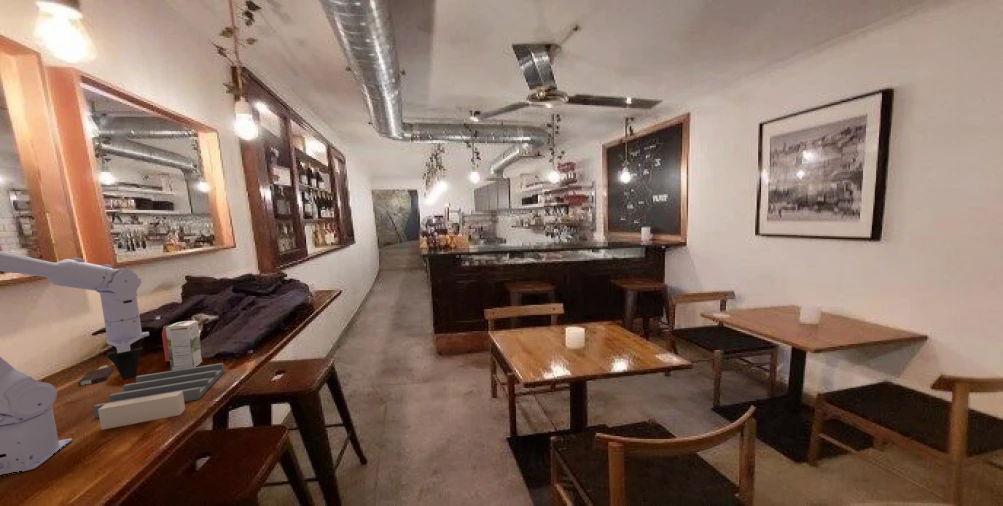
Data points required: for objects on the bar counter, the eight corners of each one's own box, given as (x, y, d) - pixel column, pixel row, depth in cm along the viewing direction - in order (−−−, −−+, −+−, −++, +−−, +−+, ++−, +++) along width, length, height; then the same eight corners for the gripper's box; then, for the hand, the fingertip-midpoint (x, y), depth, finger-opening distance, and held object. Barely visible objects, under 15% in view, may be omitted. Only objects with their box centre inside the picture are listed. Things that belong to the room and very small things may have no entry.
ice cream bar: (92, 371, 112) (78, 388, 100) (91, 366, 111) (77, 382, 100) (116, 366, 115) (106, 382, 103) (116, 361, 115) (105, 376, 103)
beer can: (187, 361, 116) (182, 326, 114) (161, 365, 113) (156, 329, 112) (196, 354, 122) (191, 320, 121) (171, 357, 119) (166, 323, 118)
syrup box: (181, 366, 112) (175, 322, 111) (203, 363, 114) (197, 319, 112) (171, 373, 107) (164, 327, 105) (194, 370, 109) (188, 324, 107)
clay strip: (185, 410, 86) (182, 390, 85) (180, 415, 84) (177, 395, 83) (109, 424, 81) (105, 404, 80) (101, 430, 79) (97, 409, 78)
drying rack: (198, 399, 91) (197, 389, 90) (94, 417, 83) (92, 407, 83) (224, 371, 107) (223, 362, 107) (139, 384, 100) (138, 375, 100)
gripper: (145, 320, 81) (153, 376, 83) (147, 310, 92) (154, 360, 93) (98, 328, 76) (108, 387, 78) (106, 316, 87) (115, 368, 88)
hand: (130, 373), depth 85 cm, fingers open, 7 cm apart
